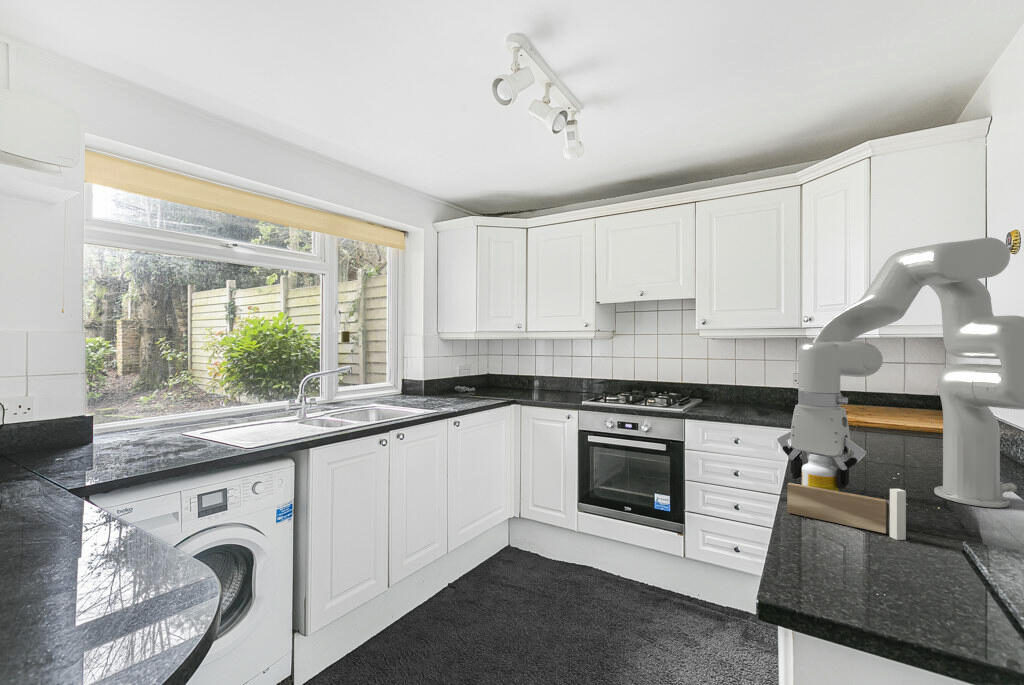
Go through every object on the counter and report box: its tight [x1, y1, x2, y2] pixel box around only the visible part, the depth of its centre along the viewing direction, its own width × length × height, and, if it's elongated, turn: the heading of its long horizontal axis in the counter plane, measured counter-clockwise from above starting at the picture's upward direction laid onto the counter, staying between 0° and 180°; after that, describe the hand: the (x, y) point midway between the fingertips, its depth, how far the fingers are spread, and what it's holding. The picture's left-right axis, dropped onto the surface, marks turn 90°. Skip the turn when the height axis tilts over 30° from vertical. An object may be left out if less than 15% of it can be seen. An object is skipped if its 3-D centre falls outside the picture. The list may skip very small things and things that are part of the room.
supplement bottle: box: [801, 452, 840, 492], centre depth 101 cm, size 7×7×13 cm
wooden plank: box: [786, 482, 890, 535], centre depth 95 cm, size 2×18×6 cm, turn 48°
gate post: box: [889, 488, 907, 541], centre depth 88 cm, size 2×2×9 cm
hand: (818, 482), depth 101 cm, fingers open, 8 cm apart
